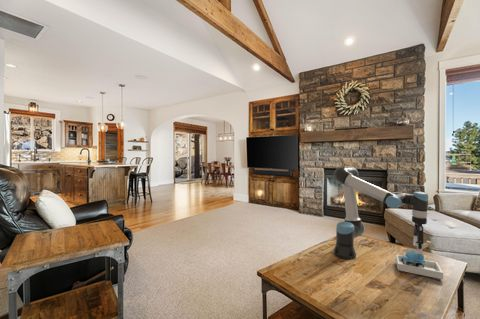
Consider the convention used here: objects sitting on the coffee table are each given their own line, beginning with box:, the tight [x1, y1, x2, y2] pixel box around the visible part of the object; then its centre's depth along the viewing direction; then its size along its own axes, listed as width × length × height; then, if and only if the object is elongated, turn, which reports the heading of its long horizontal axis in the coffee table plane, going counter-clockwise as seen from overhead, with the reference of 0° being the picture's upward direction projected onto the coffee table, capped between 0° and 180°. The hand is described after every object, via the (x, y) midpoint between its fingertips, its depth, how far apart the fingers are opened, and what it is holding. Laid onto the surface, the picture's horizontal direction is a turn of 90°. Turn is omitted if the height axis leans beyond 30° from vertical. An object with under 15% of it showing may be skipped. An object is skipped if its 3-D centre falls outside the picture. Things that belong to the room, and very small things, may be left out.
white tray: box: [395, 254, 444, 282], centre depth 150 cm, size 22×15×6 cm
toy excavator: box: [401, 240, 435, 268], centre depth 150 cm, size 9×17×17 cm, turn 78°
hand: (417, 249), depth 150 cm, fingers open, 13 cm apart
